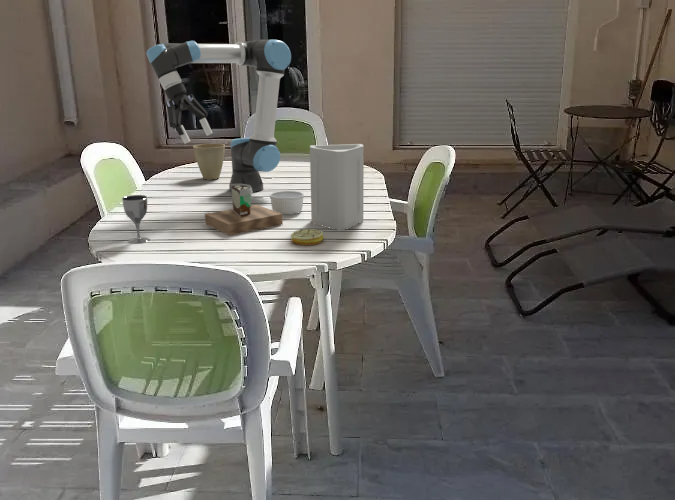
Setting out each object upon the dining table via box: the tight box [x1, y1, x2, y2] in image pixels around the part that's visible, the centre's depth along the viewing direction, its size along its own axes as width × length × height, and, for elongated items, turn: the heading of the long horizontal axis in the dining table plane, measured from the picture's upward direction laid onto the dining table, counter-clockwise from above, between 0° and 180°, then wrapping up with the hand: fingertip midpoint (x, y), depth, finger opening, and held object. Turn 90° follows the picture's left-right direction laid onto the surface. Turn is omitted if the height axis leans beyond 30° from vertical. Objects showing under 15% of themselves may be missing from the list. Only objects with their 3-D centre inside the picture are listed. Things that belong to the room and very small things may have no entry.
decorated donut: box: [290, 228, 324, 246], centre depth 226 cm, size 10×11×4 cm
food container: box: [231, 184, 254, 217], centre depth 246 cm, size 12×6×10 cm, turn 24°
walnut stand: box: [204, 204, 284, 236], centre depth 247 cm, size 22×18×4 cm
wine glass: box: [121, 194, 150, 245], centre depth 227 cm, size 8×8×15 cm
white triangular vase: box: [309, 143, 365, 231], centre depth 242 cm, size 19×15×28 cm
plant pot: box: [192, 142, 226, 181], centre depth 324 cm, size 15×15×16 cm
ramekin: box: [269, 190, 305, 215], centre depth 264 cm, size 13×13×7 cm
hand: (198, 138), depth 256 cm, fingers open, 13 cm apart
